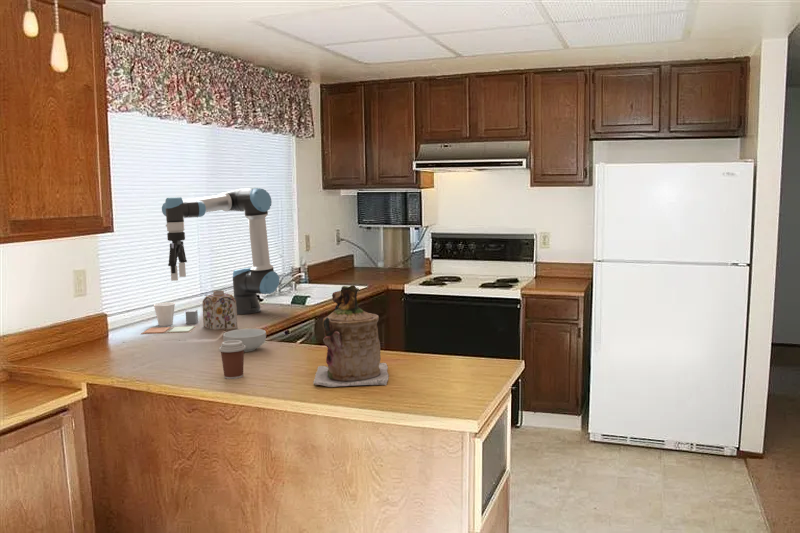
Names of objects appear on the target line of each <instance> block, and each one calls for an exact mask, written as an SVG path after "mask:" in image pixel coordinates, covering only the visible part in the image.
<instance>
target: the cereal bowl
mask: <svg viewBox="0 0 800 533" xmlns="http://www.w3.org/2000/svg"><path fill="white" fill-rule="evenodd" d="M222 337H223V342H225V341H230V340H240V341H242V343H243V344H244V345H245V346H246V349H245V350H244V353H247V352H248V353H249V352H253V351H255V350H256V349H257V348H259V347H261V346H262V345H263V344H264V343H265V342H266V339H267V332H266V330H265V329H261V328H249V327H248V328H237V329H232V330H227V331H226V332H225V331H224V333H223V336H222Z"/></svg>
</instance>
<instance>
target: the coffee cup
mask: <svg viewBox="0 0 800 533" xmlns="http://www.w3.org/2000/svg"><path fill="white" fill-rule="evenodd" d="M245 349H246V346H245V345H244V344H243V343H242V341H240V340H230V341H225V342H224V341H222V342H221V344H220V347H218V352H220V354H221V361H222V362H221V363H222V369H223V377H224V379H227V380H236V379H241V378H243V377H244V362H245V361H244V360H245V359H244V358H245V352H244V350H245Z"/></svg>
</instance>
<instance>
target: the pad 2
mask: <svg viewBox="0 0 800 533" xmlns="http://www.w3.org/2000/svg"><path fill="white" fill-rule="evenodd" d="M173 327H174V328H173V329H171V330H170V331H169V332H168V333H167V334H171V333H170V332H189V331H191V330H192V329H193V328H194V327H195V325H194V326H193V325H192V326H189V325H188V326H187V325H186V326H173Z"/></svg>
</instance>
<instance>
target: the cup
mask: <svg viewBox="0 0 800 533" xmlns="http://www.w3.org/2000/svg"><path fill="white" fill-rule="evenodd" d="M153 307H154V312H155V315H156V319H157V320H156V321H157V324H158V326H159V327H160V326H161V327H166V326H167V327H168V326H171V325H173V324H174V317H175V315H174V314H175V307H176V302H172V301H171V302H170V301H169V302H158V303H154V304H153Z"/></svg>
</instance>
